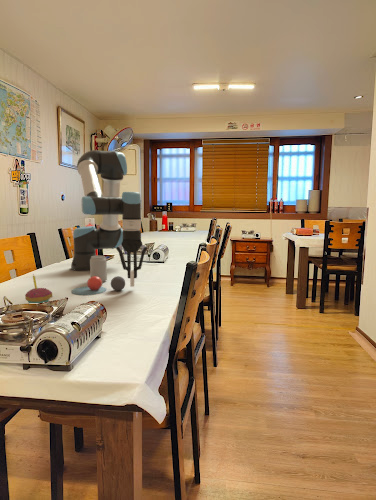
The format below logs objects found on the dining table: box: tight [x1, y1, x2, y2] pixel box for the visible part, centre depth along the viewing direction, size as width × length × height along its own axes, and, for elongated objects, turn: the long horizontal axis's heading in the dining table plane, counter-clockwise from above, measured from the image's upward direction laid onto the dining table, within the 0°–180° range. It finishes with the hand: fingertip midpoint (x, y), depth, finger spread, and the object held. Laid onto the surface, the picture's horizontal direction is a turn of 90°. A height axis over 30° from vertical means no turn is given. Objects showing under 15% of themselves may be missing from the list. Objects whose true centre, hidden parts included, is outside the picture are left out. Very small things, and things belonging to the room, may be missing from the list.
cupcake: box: [24, 273, 53, 304], centre depth 114 cm, size 9×8×12 cm
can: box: [89, 254, 108, 283], centre depth 154 cm, size 8×8×12 cm
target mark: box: [71, 285, 107, 296], centre depth 138 cm, size 14×14×1 cm
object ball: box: [86, 276, 103, 291], centre depth 138 cm, size 6×6×6 cm
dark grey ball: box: [110, 276, 126, 292], centre depth 139 cm, size 6×6×6 cm
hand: (132, 285), depth 140 cm, fingers closed
